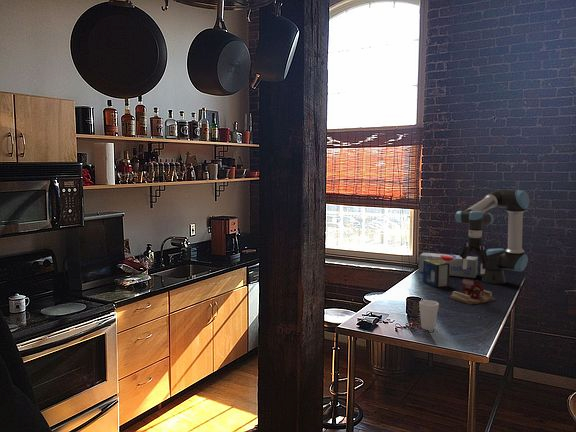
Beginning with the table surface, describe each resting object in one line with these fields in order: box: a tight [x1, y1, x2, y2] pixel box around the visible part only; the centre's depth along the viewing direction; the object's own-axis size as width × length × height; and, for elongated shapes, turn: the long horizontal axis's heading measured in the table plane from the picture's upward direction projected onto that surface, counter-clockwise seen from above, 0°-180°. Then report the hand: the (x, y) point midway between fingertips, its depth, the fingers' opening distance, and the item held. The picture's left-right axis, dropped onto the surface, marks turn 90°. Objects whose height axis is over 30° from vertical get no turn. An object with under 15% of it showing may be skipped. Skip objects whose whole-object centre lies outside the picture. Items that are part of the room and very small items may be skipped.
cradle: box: [449, 289, 495, 305], centre depth 295 cm, size 20×16×4 cm
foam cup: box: [418, 299, 440, 331], centre depth 243 cm, size 10×9×13 cm
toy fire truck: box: [461, 278, 485, 299], centre depth 294 cm, size 7×12×10 cm, turn 55°
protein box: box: [422, 259, 450, 288], centre depth 330 cm, size 10×15×16 cm
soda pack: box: [418, 252, 479, 279], centre depth 360 cm, size 41×13×14 cm, turn 61°
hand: (473, 271), depth 293 cm, fingers open, 13 cm apart
